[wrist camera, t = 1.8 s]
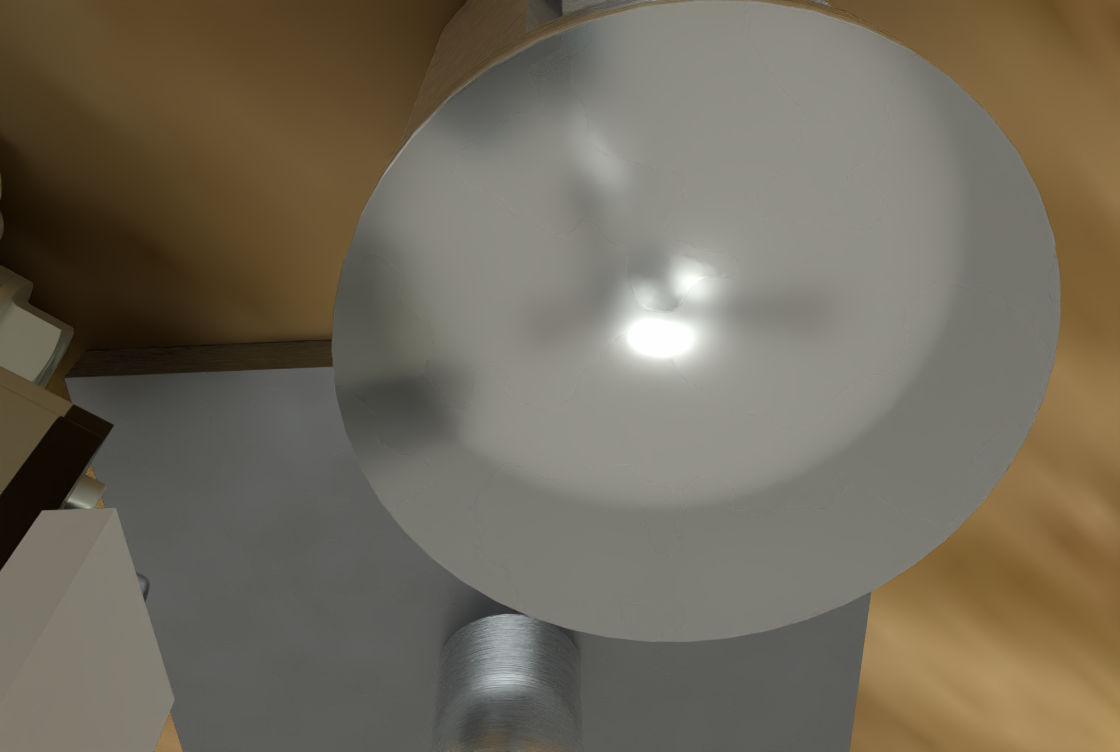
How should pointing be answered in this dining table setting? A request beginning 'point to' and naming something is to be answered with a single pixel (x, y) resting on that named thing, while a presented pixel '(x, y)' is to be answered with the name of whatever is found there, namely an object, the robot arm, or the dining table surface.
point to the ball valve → (40, 421)
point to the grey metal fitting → (690, 312)
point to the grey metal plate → (389, 595)
